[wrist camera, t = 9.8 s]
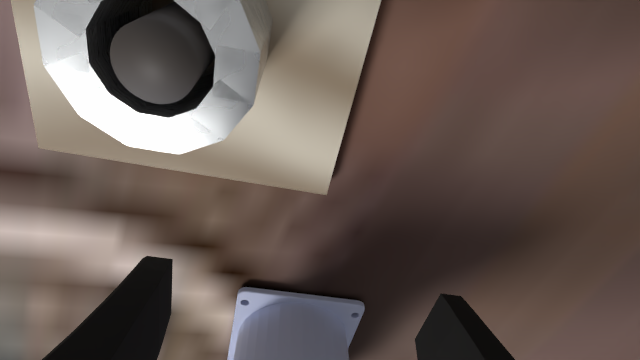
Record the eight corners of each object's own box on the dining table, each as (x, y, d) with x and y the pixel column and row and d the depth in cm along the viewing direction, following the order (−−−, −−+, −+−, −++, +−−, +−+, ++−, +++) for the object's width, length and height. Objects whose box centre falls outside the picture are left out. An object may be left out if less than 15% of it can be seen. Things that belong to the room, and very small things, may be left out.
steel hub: (260, 105, 16) (245, 165, 12) (123, 80, 15) (54, 134, 11) (281, -42, 13) (271, -33, 9) (114, -83, 12) (16, -95, 8)
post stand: (325, 183, 19) (333, 269, 14) (51, 138, 17) (-52, 218, 12) (412, -135, 13) (486, -186, 8) (-16, -268, 11) (-299, -453, 6)
